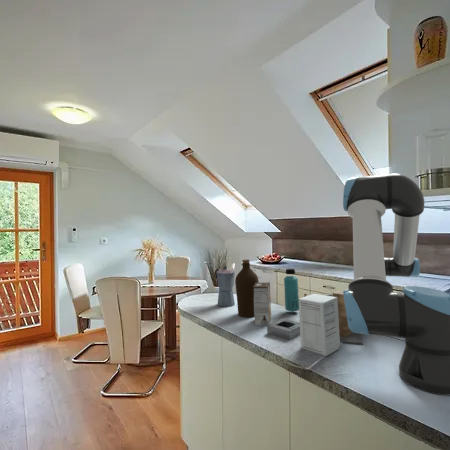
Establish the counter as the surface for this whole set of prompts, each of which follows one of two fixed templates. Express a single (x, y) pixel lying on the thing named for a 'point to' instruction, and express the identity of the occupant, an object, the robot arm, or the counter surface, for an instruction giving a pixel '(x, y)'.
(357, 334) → the rubber mat
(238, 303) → the olive oil
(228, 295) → the moka pot
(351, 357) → the counter surface
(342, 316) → the wooden peg
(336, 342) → the supplement box
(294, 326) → the post base
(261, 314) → the coffee box
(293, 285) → the beverage bottle
